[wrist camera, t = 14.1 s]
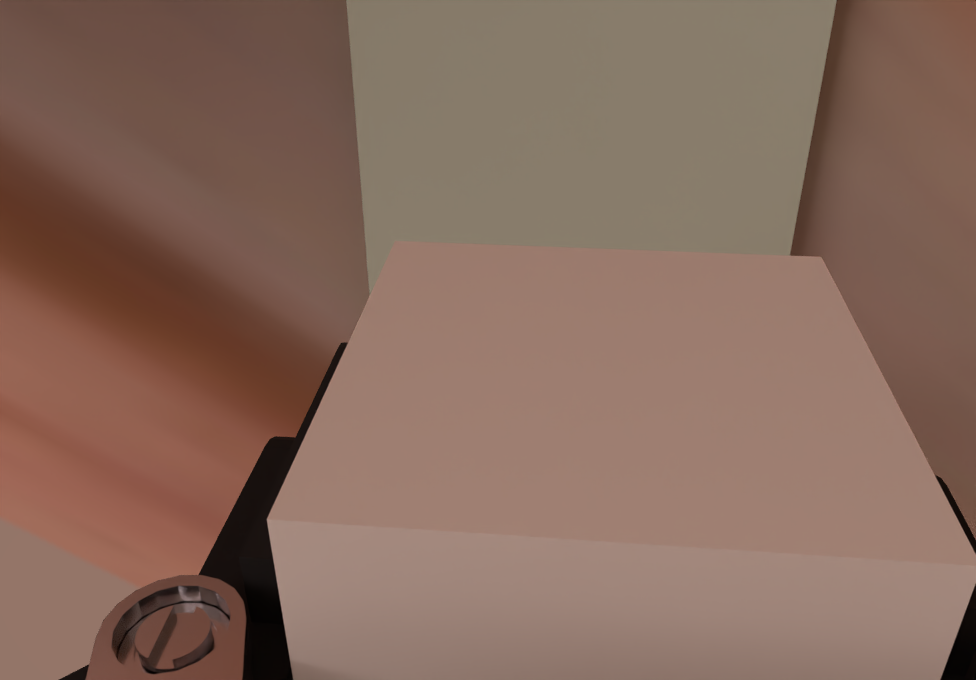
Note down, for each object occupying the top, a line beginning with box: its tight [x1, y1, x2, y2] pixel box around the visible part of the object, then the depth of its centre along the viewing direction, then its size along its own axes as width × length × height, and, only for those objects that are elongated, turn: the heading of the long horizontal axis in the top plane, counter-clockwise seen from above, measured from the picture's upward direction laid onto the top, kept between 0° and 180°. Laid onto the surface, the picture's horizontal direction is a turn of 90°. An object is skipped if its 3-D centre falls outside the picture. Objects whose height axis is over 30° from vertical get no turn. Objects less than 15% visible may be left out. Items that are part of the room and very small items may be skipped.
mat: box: [346, 0, 837, 296], centre depth 21 cm, size 10×10×1 cm
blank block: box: [267, 241, 976, 680], centre depth 10 cm, size 5×5×5 cm
